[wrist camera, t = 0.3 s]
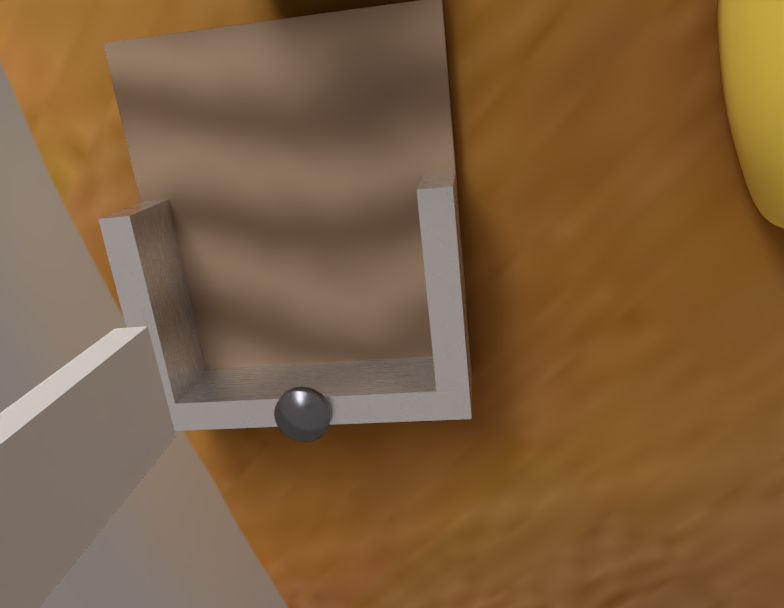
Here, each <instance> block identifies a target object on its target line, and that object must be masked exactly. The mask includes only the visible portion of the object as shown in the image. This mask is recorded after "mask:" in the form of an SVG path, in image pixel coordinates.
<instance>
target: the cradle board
mask: <svg viewBox="0 0 784 608" xmlns="http://www.w3.org/2000/svg"><path fill="white" fill-rule="evenodd" d="M103 44H104V49H105V53H106V57H107V61H108V66H109V70H110V74H111V78H112V83H113V87H114V91H115V95H116V100H117V104H118V108H119V112H120V117H121V121H122V125H123V129H124V133H125V138H126V142H127V146H128V150H129V155H130V159H131V163H132V167H133V172H134V176H135V180H136V184H137V189H138V193H139V197H140V201H141V202H145V201H156V200H166V199H169V204H170V208H171V213H172V217H173V222H174V226H175V231H176V235H177V240H178V244H179V249H180V253H181V258H182V262H183V267H184V271H185V276H186V280H187V285H188V289H189V294H190V298H191V303H192V307H193V312H194V316H195V321H196V325H197V330H198V334H199V339H200V343H201V348H202V352H203V357H204V361H205V366H206V369H211V368H229V367H248V366H266V365H285V364H303V363H322V362H340V361H359V360H377V359H395V358H414V357H432V356H433V351H432V340H431V330H430V320H429V310H428V300H427V290H426V280H425V270H424V260H423V250H422V240H421V230H420V219H419V209H418V199H417V188H418V186H419V183H420V181H421V179H422V177H423V175H429V174H440V173H450V172H455V173H456V163H455V151H454V138H453V125H452V113H451V100H450V87H449V75H448V62H447V49H446V37H445V24H444V11H443V0H419V1H411V2H404V3H396V4H389V5H382V6H374V7H367V8H359V9H352V10H344V11H337V12H330V13H322V14H315V15H307V16H300V17H292V18H285V19H277V20H270V21H263V22H255V23H248V24H240V25H233V26H225V27H218V28H210V29H203V30H196V31H188V32H181V33H173V34H166V35H158V36H151V37H143V38H136V39H129V40H121V41H114V42H106V43H103ZM456 186H457V176H456ZM457 199H458V189H457ZM458 211H459V201H458ZM459 224H460V214H459ZM460 236H461V226H460ZM461 249H462V239H461ZM462 262H463V252H462ZM463 274H464V264H463ZM464 287H465V277H464ZM465 299H466V290H465ZM466 312H467V302H466ZM467 325H468V315H467ZM468 337H469V328H468ZM469 350H470V340H469ZM470 362H471V353H470ZM471 375H472V366H471Z"/></svg>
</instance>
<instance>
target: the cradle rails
mask: <svg viewBox="0 0 784 608" xmlns="http://www.w3.org/2000/svg"><path fill="white" fill-rule="evenodd" d="M417 199H418V209H419V219H420V230H421V240H422V250H423V260H424V270H425V280H426V290H427V300H428V310H429V320H430V330H431V340H432V351H433V356H432V357H414V358H395V359H377V360H359V361H340V362H322V363H303V364H285V365H266V366H248V367H229V368H211V369H206V366H205V361H204V357H203V352H202V348H201V343H200V339H199V334H198V330H197V325H196V321H195V316H194V312H193V307H192V303H191V298H190V294H189V289H188V285H187V280H186V276H185V271H184V267H183V262H182V258H181V253H180V249H179V244H178V240H177V235H176V231H175V226H174V222H173V217H172V213H171V208H170V204H169V199H166V200H156V201H145V202H139V203H137V204H134V205H132V206H129V207H127V208H124V209H122V210H119V211H117V212H114V213H112V214H109V215H107V216H104V217H102V218H99V219H98V220H99V224H100V227H101V231H102V235H103V239H104V243H105V247H106V251H107V255H108V258H109V262H110V266H111V270H112V274H113V278H114V282H115V285H116V289H117V293H118V297H119V301H120V305H121V309H122V312H123V316H124V320H125V324H126V328H130V327H144V326H148V330H149V333H150V337H151V341H152V345H153V349H154V353H155V357H156V361H157V365H158V369H159V372H160V376H161V380H162V384H163V388H164V392H165V396H166V400H167V404H168V407H169V411H170V415H171V419H172V423H173V427H174V431H183V430H208V429H233V428H258V427H278V428H279V429H280V430H281V431H282V432H283V433H284V434H285V435H286V436H288V437H289V438H291V439H294V440H297V441H302V442H307V441H313V440H316V439H318V438H320V437H321V436H322V435H323V434H324V433H325V432H326V430H327V429H328V426H329V425H333V424H358V423H383V422H409V421H434V420H459V419H472V375H471V362H470V350H469V337H468V325H467V312H466V299H465V287H464V274H463V262H462V249H461V236H460V224H459V211H458V199H457V186H456V173H455V172H450V173H440V174H429V175H423V177H422V179H421V181H420V183H419V186H418V188H417Z"/></svg>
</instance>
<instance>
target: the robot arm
mask: <svg viewBox="0 0 784 608" xmlns="http://www.w3.org/2000/svg"><path fill="white" fill-rule="evenodd" d="M175 438H176V435H175V431H174V427H173V423H172V419H171V415H170V411H169V407H168V404H167V400H166V396H165V392H164V388H163V384H162V380H161V376H160V372H159V369H158V365H157V361H156V357H155V353H154V349H153V345H152V341H151V337H150V333H149V330H148V326H144V327H130V328H116V329H114V330H112V331H111V332H110V333H108V334H107V335H106V336H104V337H103V338H102V339H100V340H99V341H98V342H96V343H95V344H94V345H92V346H91V347H89V348H88V349H87V350H85V351H84V352H83V353H81V354H80V355H78V356H77V357H76V358H75V359H73V360H72V361H70V362H69V363H68V364H66V365H65V366H63V367H62V368H61V369H60V370H58V371H57V372H55V373H54V374H53V375H51V376H50V377H49V378H47V379H46V380H44V381H43V382H42V383H41V384H39V385H38V386H36V387H35V388H34V389H32V390H31V391H29V392H28V393H27V394H25V395H24V396H23V397H22V398H20V399H19V400H17V401H16V402H15V403H13V404H12V405H10V406H9V407H8V408H6V409H5V410H4V411H2V412H1V413H0V608H40V606H41V605H42V604H43V603H44V601H45V600H46V599H47V597H48V596H49V595H50V594H51V593H52V591H53V590H54V589H55V588H56V586H57V585H58V584H59V582H60V581H61V580H62V579H63V577H64V576H65V575H66V574H67V573H68V571H69V570H70V569H71V568H72V566H73V565H74V564H75V563H76V561H77V560H78V559H79V558H80V556H81V555H82V554H83V552H84V551H85V550H86V549H87V548H88V546H89V545H90V544H91V543H92V541H93V540H94V539H95V538H96V536H97V535H98V534H99V533H100V531H101V530H102V529H103V527H104V526H105V525H106V524H107V523H108V521H109V520H110V519H111V517H112V516H113V515H114V514H115V513H116V511H117V510H118V509H119V508H120V506H121V505H122V504H123V503H124V501H125V500H126V499H127V498H128V496H129V495H130V494H131V493H132V491H133V490H134V489H135V488H136V486H137V485H138V484H139V483H140V481H141V480H142V479H143V478H144V476H145V475H146V474H147V472H148V471H149V470H150V469H151V467H152V466H153V465H154V464H155V463H156V461H157V460H158V459H159V458H160V456H161V455H162V454H163V453H164V451H165V450H166V449H167V448H168V446H169V445H170V444H171V443H172V441H173V440H174V439H175Z"/></svg>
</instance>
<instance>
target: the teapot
mask: <svg viewBox="0 0 784 608" xmlns="http://www.w3.org/2000/svg"><path fill="white" fill-rule="evenodd" d="M718 40H719V54H720V65H721V76H722V85H723V94H724V100H725V106H726V112H727V117H728V121H729V126H730V130H731V134H732V138H733V142H734V145H735V149H736V152H737V156H738V159H739V163H740V166H741V169H742V172H743V176H744V179H745V182H746V185H747V187H748V190H749V192H750V195H751V197H752V200H753V202H754V204H755V205H756V207H757V208H758V210H759V211H760V213H761V214H762V216H763V217H765V218H766V219H767V220H768V221H769V222H771V223H772V224H774V225H776V226H778V227H781V228H784V0H719V1H718Z"/></svg>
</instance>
